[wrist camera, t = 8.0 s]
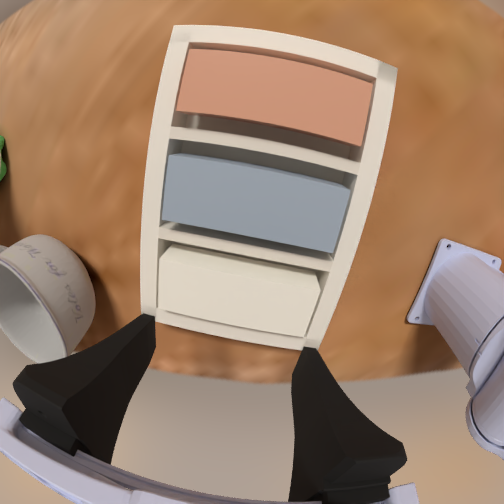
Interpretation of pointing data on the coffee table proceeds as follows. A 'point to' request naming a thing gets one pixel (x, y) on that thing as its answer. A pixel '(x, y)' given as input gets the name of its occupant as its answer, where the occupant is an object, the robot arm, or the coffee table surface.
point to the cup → (0, 165)
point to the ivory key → (237, 290)
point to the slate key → (254, 201)
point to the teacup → (44, 297)
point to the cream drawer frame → (265, 154)
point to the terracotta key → (275, 94)
